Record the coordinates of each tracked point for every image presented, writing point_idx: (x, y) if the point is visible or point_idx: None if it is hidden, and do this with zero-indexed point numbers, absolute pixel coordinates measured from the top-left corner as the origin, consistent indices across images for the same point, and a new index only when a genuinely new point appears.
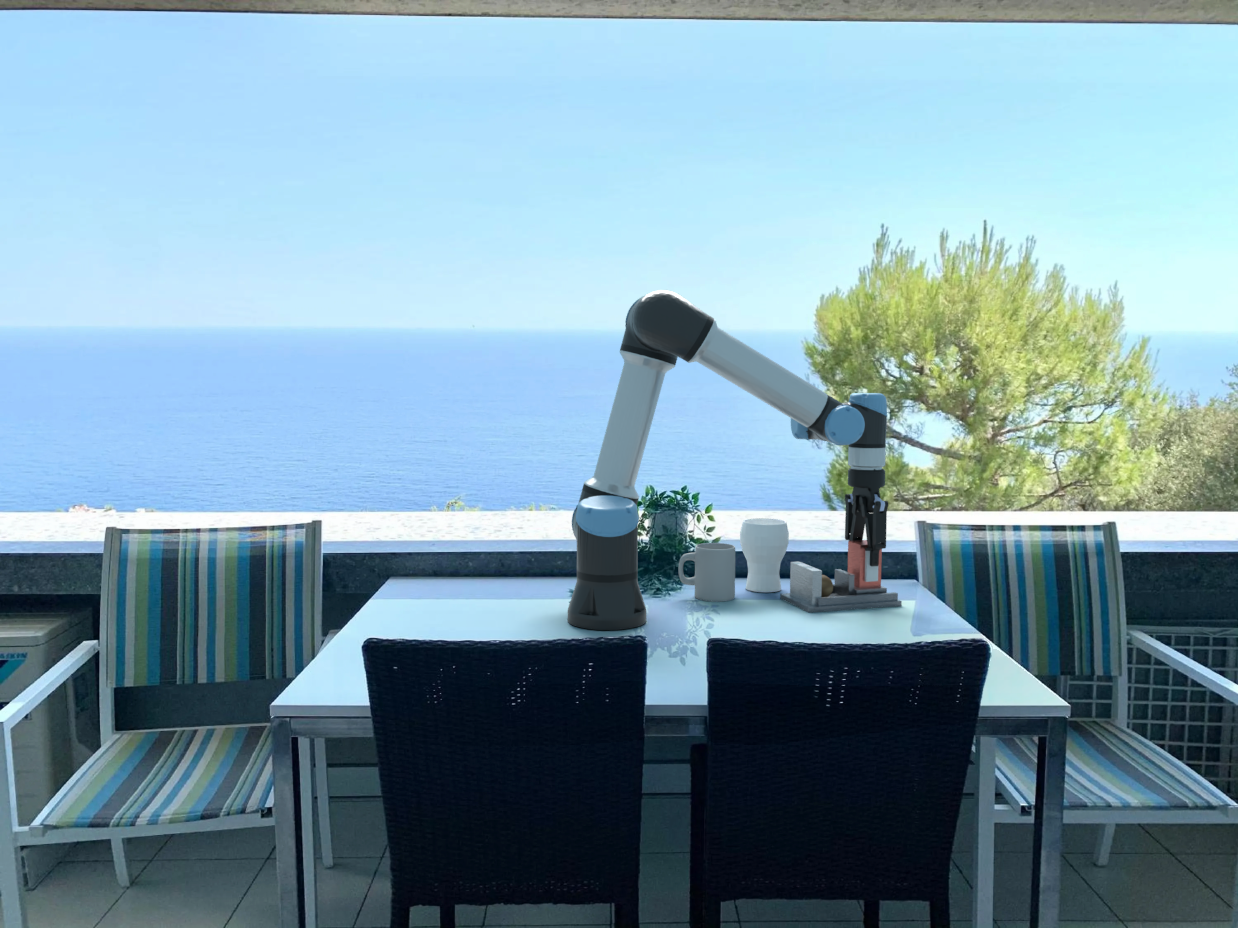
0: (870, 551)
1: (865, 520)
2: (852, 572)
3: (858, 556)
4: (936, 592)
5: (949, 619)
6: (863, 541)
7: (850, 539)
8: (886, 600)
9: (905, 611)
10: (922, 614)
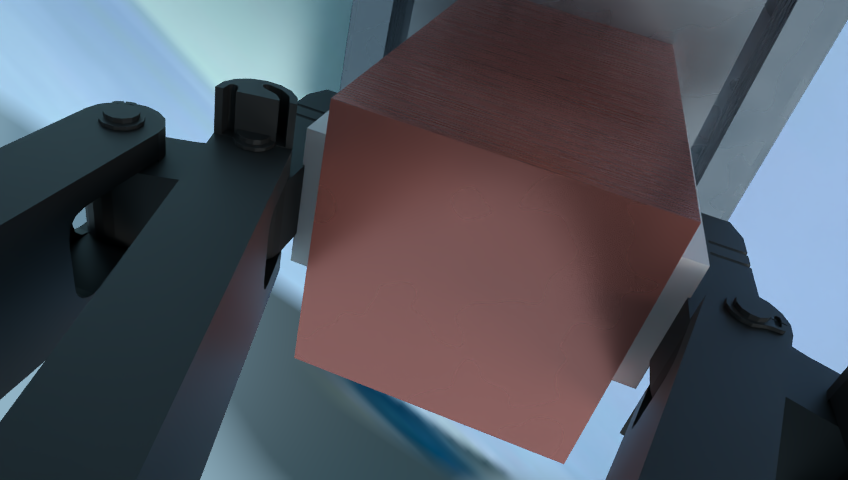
0: (297, 156)
1: (111, 463)
2: (580, 45)
3: (429, 61)
4: (472, 470)
5: (57, 110)
6: (526, 342)
7: (754, 334)
8: None
9: (236, 63)
10: (161, 85)
